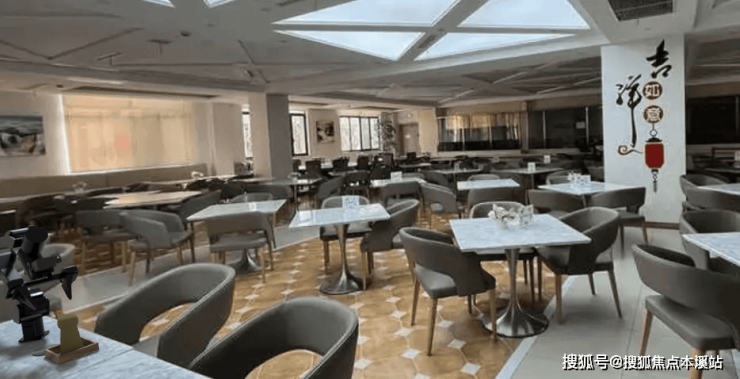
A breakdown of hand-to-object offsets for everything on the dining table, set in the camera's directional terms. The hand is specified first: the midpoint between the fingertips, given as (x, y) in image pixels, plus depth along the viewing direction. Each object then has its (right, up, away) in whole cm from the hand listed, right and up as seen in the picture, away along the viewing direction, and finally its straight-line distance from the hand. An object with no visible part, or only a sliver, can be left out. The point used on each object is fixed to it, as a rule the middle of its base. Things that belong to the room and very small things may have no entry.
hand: (54, 304), depth 138 cm
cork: (+7, -14, -3) cm, 16 cm away
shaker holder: (+7, -13, -3) cm, 15 cm away
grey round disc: (-2, -14, +1) cm, 14 cm away
